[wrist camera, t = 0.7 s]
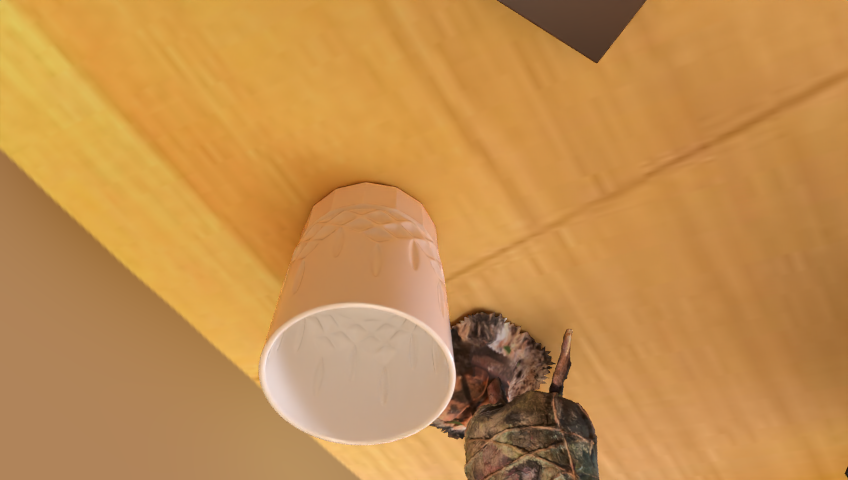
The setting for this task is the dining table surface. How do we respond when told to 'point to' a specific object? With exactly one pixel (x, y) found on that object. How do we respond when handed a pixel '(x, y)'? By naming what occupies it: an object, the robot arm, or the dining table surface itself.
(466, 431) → the brown figurine
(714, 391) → the dining table surface
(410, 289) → the white cup
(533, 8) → the trivet
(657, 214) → the dining table surface
